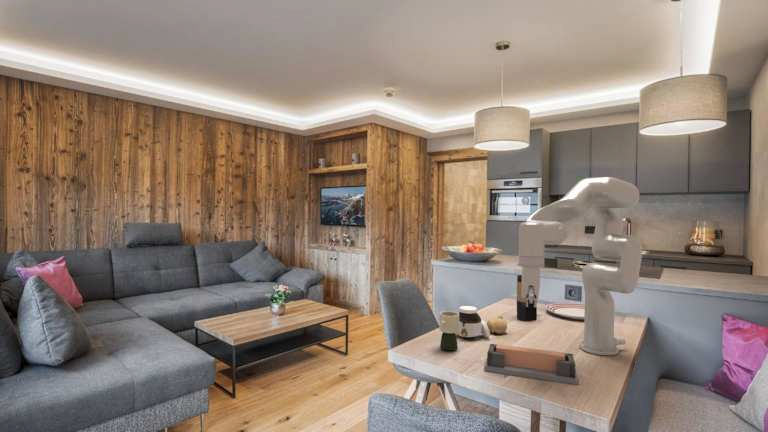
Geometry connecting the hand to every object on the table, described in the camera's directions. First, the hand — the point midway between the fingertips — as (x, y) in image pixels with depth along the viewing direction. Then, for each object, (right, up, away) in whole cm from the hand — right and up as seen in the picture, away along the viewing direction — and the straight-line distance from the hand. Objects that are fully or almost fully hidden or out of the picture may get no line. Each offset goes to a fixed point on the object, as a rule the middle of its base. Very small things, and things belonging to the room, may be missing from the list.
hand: (531, 315), depth 124 cm
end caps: (0, -16, 0) cm, 16 cm away
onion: (0, -17, +39) cm, 42 cm away
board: (0, -17, 0) cm, 17 cm away
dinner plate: (+47, -17, +68) cm, 84 cm away
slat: (-1, -16, 0) cm, 16 cm away
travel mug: (+19, -17, +59) cm, 64 cm away
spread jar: (-11, -17, +33) cm, 39 cm away
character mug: (-23, -17, +19) cm, 34 cm away
